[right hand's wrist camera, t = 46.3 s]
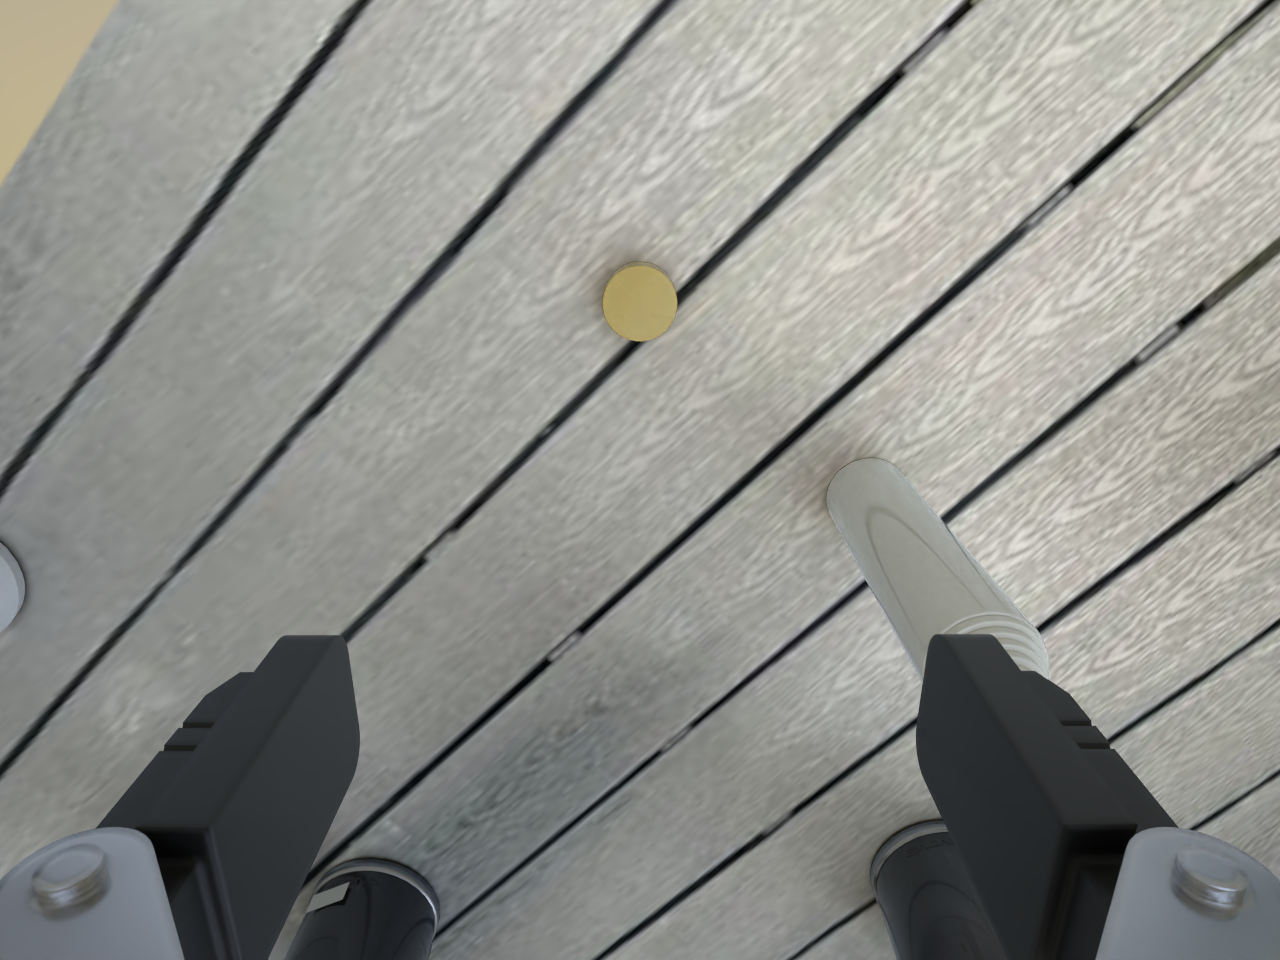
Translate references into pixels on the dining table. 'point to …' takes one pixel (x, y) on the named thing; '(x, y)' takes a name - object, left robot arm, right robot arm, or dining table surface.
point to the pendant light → (10, 587)
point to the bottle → (923, 567)
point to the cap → (639, 301)
